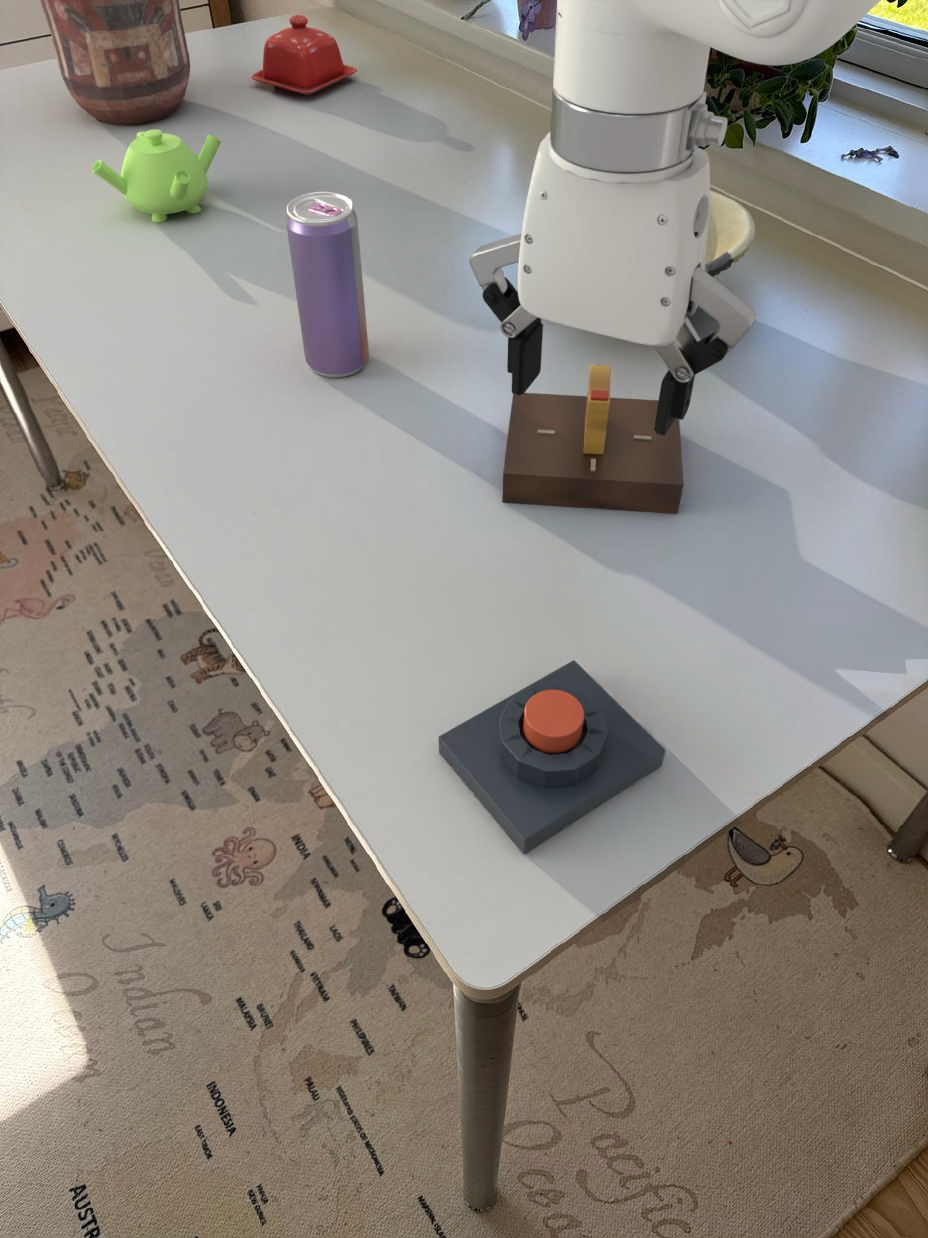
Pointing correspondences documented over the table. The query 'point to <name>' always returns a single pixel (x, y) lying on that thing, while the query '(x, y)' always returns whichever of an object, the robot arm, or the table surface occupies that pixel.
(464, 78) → the table surface
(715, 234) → the bowl
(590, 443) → the thumbturn
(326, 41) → the butter dish
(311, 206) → the beverage can
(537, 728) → the release button
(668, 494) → the plate
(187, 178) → the teapot
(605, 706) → the box
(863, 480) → the table surface
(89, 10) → the pottery
